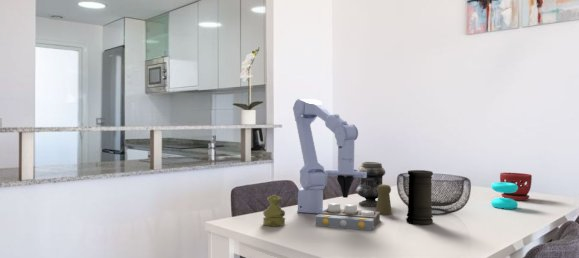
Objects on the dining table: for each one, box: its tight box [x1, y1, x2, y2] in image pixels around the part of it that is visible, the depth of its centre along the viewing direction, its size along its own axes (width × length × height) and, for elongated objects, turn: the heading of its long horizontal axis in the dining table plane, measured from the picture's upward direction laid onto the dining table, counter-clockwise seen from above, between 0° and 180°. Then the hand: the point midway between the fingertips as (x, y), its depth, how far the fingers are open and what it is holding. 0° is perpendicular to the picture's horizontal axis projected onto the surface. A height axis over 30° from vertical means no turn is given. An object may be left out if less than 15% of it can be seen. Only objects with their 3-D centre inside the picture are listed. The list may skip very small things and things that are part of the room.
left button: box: [327, 202, 341, 213], centre depth 160 cm, size 4×4×4 cm
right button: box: [361, 210, 375, 216], centre depth 156 cm, size 4×4×4 cm
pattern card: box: [315, 214, 375, 231], centre depth 150 cm, size 19×4×3 cm, turn 70°
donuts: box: [490, 181, 519, 210], centre depth 187 cm, size 10×10×10 cm
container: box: [405, 169, 434, 226], centre depth 157 cm, size 9×9×18 cm
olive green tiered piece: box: [262, 194, 286, 228], centre depth 152 cm, size 7×8×10 cm
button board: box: [321, 207, 381, 227], centre depth 158 cm, size 19×10×3 cm, turn 70°
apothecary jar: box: [355, 161, 386, 207], centre depth 191 cm, size 12×12×18 cm
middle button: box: [343, 203, 358, 214], centre depth 158 cm, size 4×4×4 cm
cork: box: [375, 184, 393, 216], centre depth 172 cm, size 6×6×11 cm
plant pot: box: [499, 172, 533, 201], centre depth 208 cm, size 13×13×12 cm
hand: (345, 197), depth 159 cm, fingers closed
